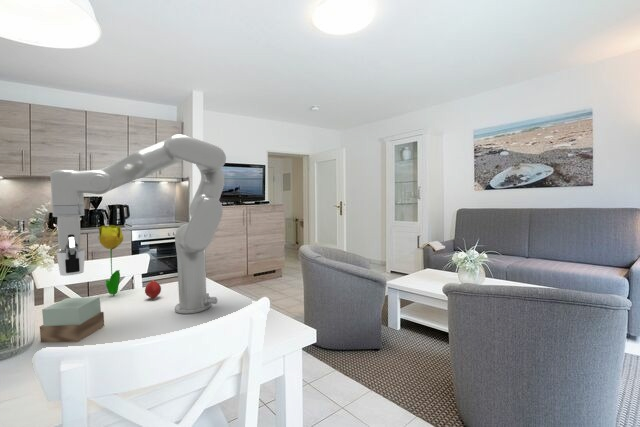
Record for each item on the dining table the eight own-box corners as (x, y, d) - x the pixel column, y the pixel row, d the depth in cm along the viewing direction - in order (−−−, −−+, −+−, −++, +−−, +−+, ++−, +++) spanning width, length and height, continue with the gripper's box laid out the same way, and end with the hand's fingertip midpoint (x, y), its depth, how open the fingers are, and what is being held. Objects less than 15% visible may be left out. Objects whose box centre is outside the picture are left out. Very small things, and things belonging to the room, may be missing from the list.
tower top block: (100, 312, 103) (99, 296, 102) (79, 324, 93) (78, 308, 92) (68, 313, 102) (67, 298, 102) (43, 326, 92) (42, 309, 92)
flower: (96, 298, 131) (92, 226, 129) (113, 292, 139) (109, 224, 137) (114, 299, 129) (109, 226, 127) (130, 293, 137) (126, 224, 135)
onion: (143, 298, 130) (142, 279, 129) (159, 295, 133) (158, 276, 133) (147, 302, 125) (146, 282, 125) (163, 298, 129) (162, 279, 129)
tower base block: (104, 326, 103) (103, 311, 103) (78, 342, 92) (77, 326, 92) (70, 327, 103) (69, 312, 103) (40, 343, 92) (39, 326, 92)
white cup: (52, 274, 95) (51, 251, 95) (79, 269, 101) (77, 248, 101) (64, 277, 92) (63, 253, 92) (90, 272, 98) (89, 249, 98)
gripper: (51, 210, 100) (55, 267, 101) (53, 212, 87) (57, 277, 88) (81, 210, 104) (84, 263, 106) (87, 211, 91) (90, 273, 93)
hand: (72, 269), depth 97 cm, fingers closed on white cup, 6 cm apart
